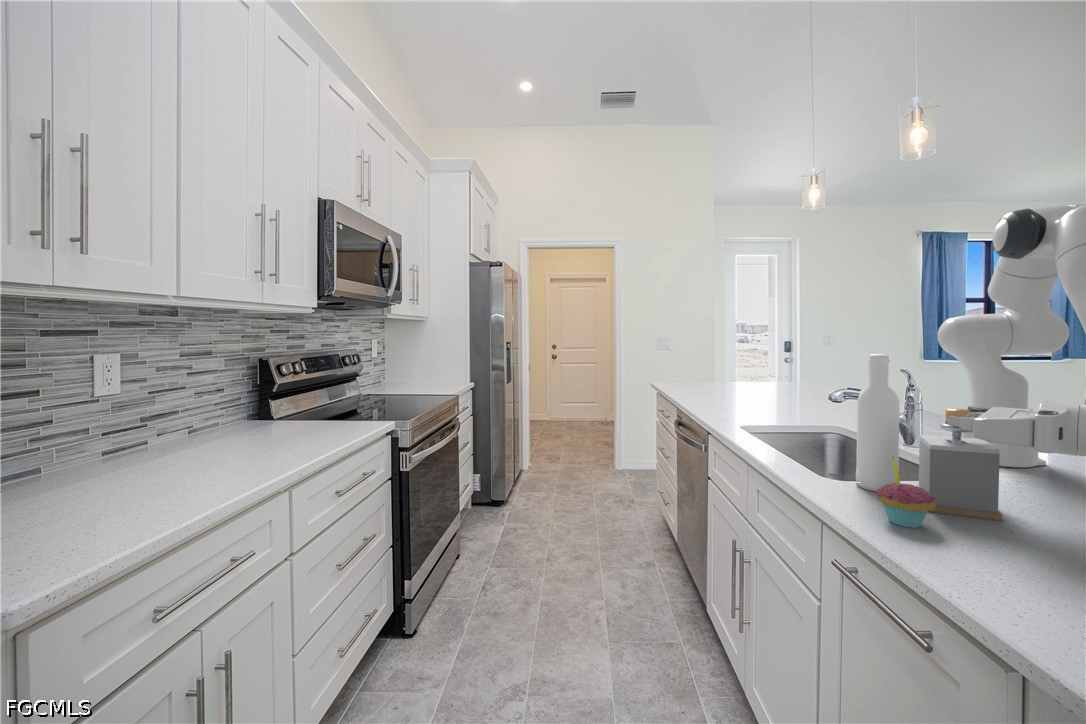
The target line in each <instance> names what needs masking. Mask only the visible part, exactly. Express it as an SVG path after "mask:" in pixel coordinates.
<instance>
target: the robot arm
mask: <svg viewBox="0 0 1086 724" xmlns="http://www.w3.org/2000/svg"><path fill="white" fill-rule="evenodd" d="M994 227H995V228H994V230H993V233H992V247H993V249H994V250H993V251H994V252H995V253H996V254H997V255H998V257H999V258H998V260H997V263H996V265H995V268H994V271H993V274H992V276H991V279H990V281H989V285H988V287H987V294H988V297H989V299H990V300H991V301H992V302H994V303H995V304H997V305H998V306H1001V307H1003V308H1005V311H1004V312H1002V313H1001V312H1000V313H981V314H979V313H978V314H977V313H976V314H975V313H974V314H965V315H960V316H954V317H950V318H947V319H946V320H945V321H943V322H942V324H941V325H940V326H939V328H938V331H937V342H938V344H939V346H940V347H941V348H942V350H943V351H945V352H946V353H948V354H949V355H951V357H954V358H955V359H956V360H957V361H958V362H959V363H960V364H961V366H962V367H963V369H964V370H965V372H966V375H967V378H968V383H969V384H968V385H969V386H968V387H969V406H967V409H966V410H970V418H967V417H961V416H949V417H948V418H947V424H948V425H949V426H957V427H962V428H966V429H971V430H973V432H968V433H967V432H962V438H974V439H981V440H985V441H986V442H988V443H990V444H991V445H993V446H994V447H996V448H998V449H999V450H1000V460H999V467H1004V468H1005V467H1008V468H1033V467H1036V466H1046V465H1047V461H1046V460H1045V459H1042V458H1039V453H1041V454H1057V455H1059V454H1061V455H1068V456H1078V457H1086V399H1085V401H1084V404H1081V403H1080V404H1078V403H1061V402H1045V401H1041V402H1040V403H1039V408H1032V407H1029V381H1028V380H1027V379H1026V377H1025V376H1024V375H1022V374H1021V373H1019V372H1017V371H1015V370H1012V369H1010V368H1007V367H1005V365H1004V364H1003V360H1002V356H1036V355H1043V354H1048V353H1049V354H1050V353H1056V352H1058V351H1060V349H1063V347H1064V346H1065V344H1066V343H1067V342H1068V340H1069V337H1070V328H1069V326H1068V324H1067V322H1066V321H1065V320H1064V319H1063V318H1062V316H1059V315H1058V314H1056V313H1055V312H1054V311H1053V310H1052V308H1051V305H1050V299H1051V296H1052V295H1051V294H1052V293H1053V289H1054V286H1055V284H1056V282H1057V280H1058V279H1059V281H1060V283H1061V286H1062V289H1063V291H1064V293H1065V295H1066V296H1067V299H1068V300H1069V302H1070V304H1071V306H1072V308H1073V310H1074V312H1075V314H1076V316H1077V318H1078V320H1079V322H1080V324H1081V326H1082V328H1083V331H1084V333H1085V335H1086V203H1075V204H1074V203H1071V204H1067V205H1057V206H1046V207H1039V208H1033V209H1031V208H1023V209H1018V210H1014V211H1010V212H1008V213H1006V214H1005V215H1003V217H1001V218H1000V219H999V220H998V222H997V223H996V225H995V226H994ZM1084 386H1085V387H1084V388H1085V389H1086V376H1085V377H1084Z"/></svg>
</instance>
